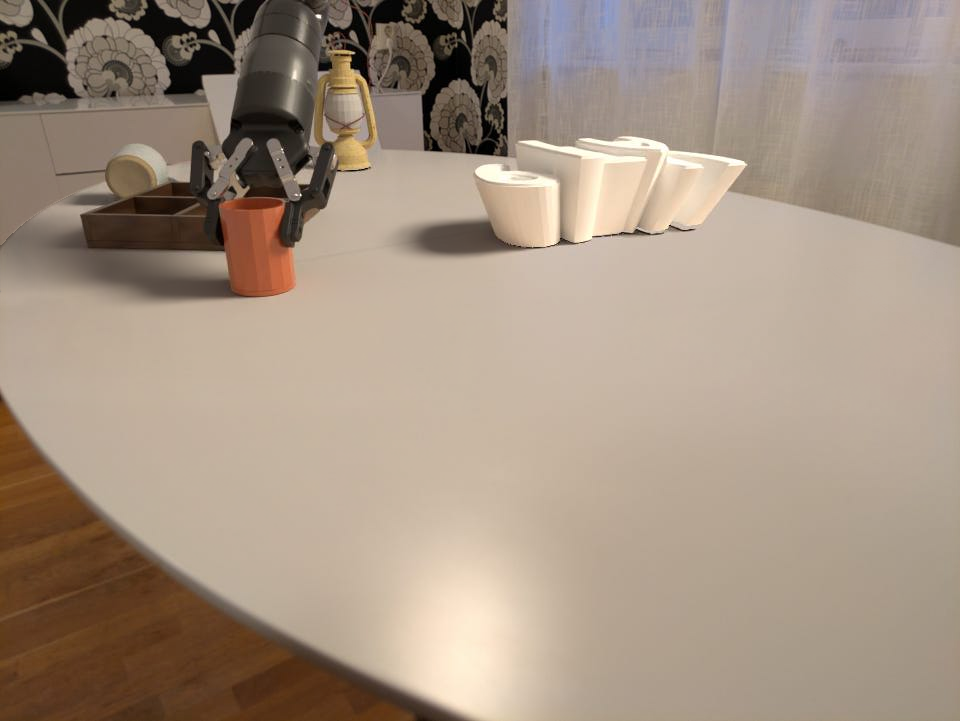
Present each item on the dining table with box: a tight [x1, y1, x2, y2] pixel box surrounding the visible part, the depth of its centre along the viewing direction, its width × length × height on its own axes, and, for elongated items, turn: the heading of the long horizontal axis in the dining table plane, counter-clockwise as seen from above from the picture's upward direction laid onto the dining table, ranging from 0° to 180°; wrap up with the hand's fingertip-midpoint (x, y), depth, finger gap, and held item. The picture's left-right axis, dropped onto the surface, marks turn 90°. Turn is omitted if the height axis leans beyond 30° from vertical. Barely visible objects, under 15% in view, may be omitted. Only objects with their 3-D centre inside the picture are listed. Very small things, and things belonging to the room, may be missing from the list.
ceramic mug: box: [104, 143, 182, 200], centre depth 101 cm, size 11×8×8 cm
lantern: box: [313, 0, 378, 170], centre depth 125 cm, size 12×10×30 cm
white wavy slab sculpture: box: [472, 136, 748, 249], centre depth 85 cm, size 35×16×11 cm, turn 111°
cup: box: [219, 197, 297, 297], centre depth 63 cm, size 6×6×8 cm
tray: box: [79, 181, 321, 251], centre depth 86 cm, size 21×21×4 cm
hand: (250, 242), depth 62 cm, fingers closed on cup, 6 cm apart
